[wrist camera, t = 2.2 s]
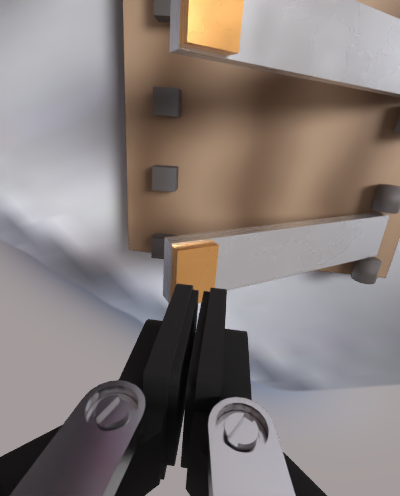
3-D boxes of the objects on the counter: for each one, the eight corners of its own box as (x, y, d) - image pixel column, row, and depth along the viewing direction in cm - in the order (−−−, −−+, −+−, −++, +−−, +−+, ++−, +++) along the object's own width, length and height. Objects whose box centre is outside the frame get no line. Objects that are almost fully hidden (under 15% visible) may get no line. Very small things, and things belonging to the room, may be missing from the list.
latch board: (463, -8, 18) (516, -40, 14) (374, 266, 24) (396, 288, 21) (132, -21, 19) (111, -53, 16) (136, 241, 26) (121, 257, 23)
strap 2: (378, 211, 21) (398, 217, 20) (366, 251, 22) (385, 259, 21) (164, 237, 13) (177, 248, 12) (163, 295, 14) (175, 310, 13)
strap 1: (430, 41, 17) (460, 36, 16) (412, 100, 18) (438, 99, 17) (172, -59, 9) (192, -82, 8) (169, 52, 11) (186, 45, 9)
